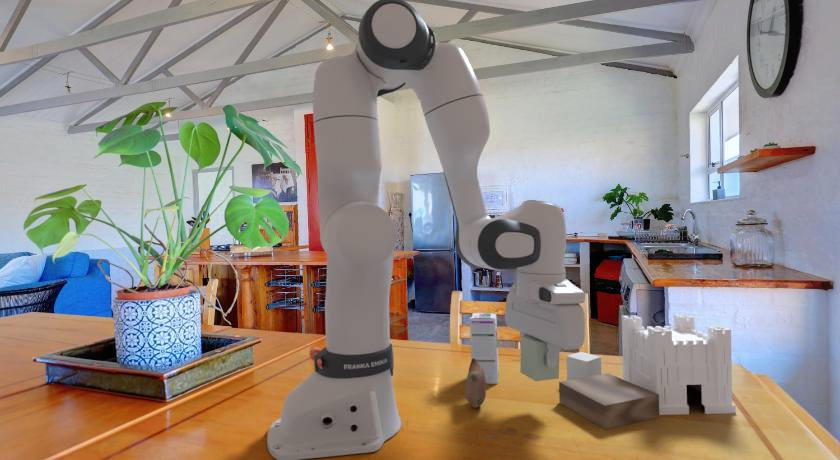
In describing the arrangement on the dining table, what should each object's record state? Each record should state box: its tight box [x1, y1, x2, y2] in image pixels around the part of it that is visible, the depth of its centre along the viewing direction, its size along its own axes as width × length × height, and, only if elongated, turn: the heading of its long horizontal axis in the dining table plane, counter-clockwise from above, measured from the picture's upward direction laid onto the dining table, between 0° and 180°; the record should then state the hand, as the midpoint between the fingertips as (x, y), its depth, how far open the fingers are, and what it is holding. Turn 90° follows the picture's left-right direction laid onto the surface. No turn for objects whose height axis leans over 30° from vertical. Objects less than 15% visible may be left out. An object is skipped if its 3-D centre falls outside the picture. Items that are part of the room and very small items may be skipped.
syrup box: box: [469, 312, 500, 385], centre depth 98 cm, size 6×6×14 cm
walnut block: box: [558, 372, 660, 430], centre depth 81 cm, size 12×12×4 cm
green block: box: [519, 335, 560, 382], centre depth 82 cm, size 5×5×7 cm
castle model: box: [621, 313, 737, 416], centre depth 85 cm, size 14×14×15 cm
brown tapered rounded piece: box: [464, 358, 487, 409], centre depth 85 cm, size 9×4×8 cm, turn 175°
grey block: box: [566, 351, 602, 381], centre depth 94 cm, size 5×5×6 cm
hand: (539, 361), depth 82 cm, fingers closed on green block, 5 cm apart
